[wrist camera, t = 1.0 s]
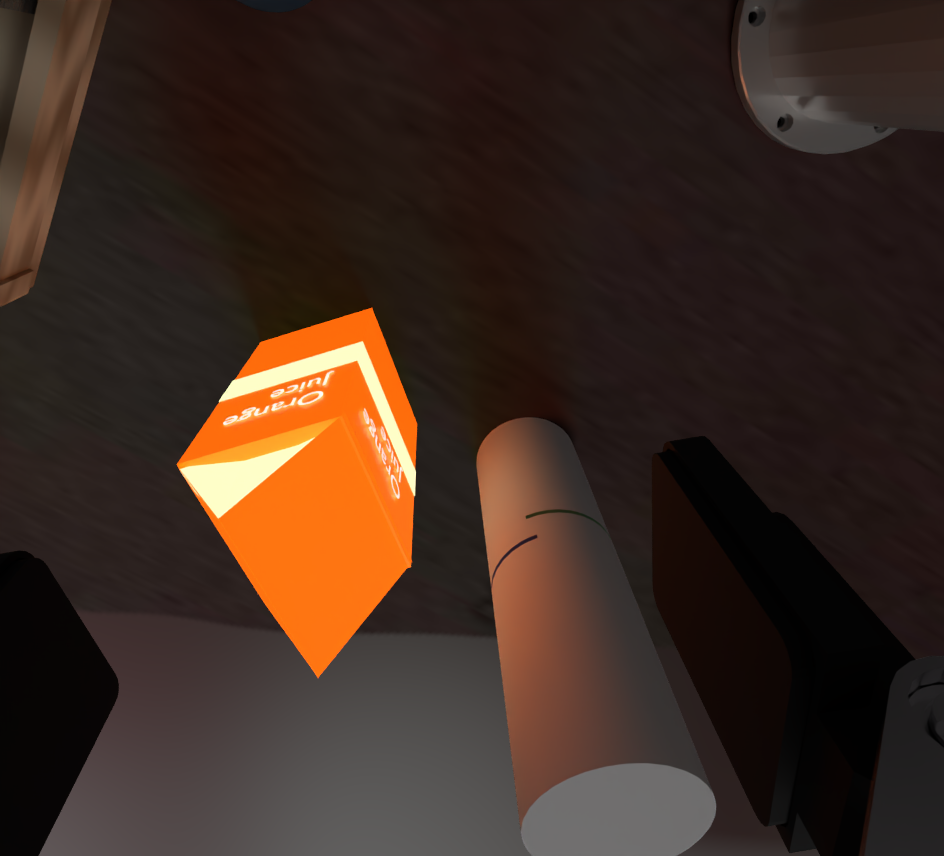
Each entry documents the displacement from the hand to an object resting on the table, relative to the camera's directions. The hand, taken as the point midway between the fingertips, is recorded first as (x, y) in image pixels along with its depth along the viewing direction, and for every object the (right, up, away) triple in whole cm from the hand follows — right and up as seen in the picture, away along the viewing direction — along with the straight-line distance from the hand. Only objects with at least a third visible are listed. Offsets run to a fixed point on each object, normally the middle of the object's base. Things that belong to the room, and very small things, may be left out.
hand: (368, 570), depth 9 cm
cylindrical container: (+6, 0, +35) cm, 35 cm away
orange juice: (-7, +5, +31) cm, 32 cm away
